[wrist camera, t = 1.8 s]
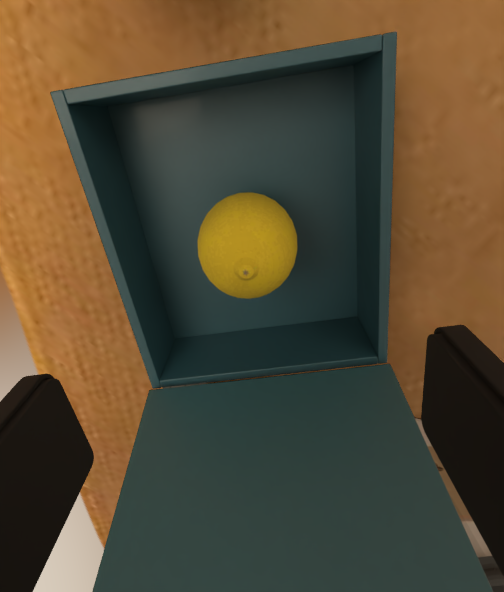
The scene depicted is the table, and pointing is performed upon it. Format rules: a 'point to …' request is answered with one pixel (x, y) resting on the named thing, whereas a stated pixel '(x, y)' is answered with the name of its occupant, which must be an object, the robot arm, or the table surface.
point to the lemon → (247, 245)
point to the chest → (240, 179)
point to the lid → (286, 493)
